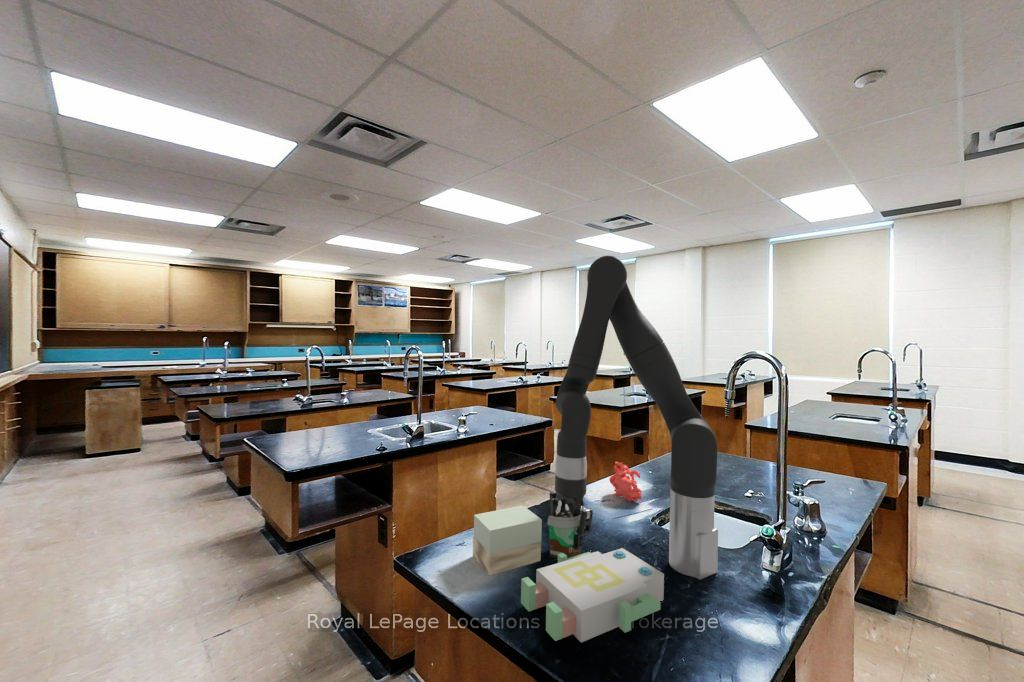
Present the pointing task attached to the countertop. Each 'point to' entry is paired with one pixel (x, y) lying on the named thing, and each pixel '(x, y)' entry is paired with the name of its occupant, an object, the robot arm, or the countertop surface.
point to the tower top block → (507, 528)
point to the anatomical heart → (625, 483)
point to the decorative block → (594, 593)
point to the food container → (562, 534)
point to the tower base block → (506, 557)
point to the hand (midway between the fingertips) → (568, 542)
